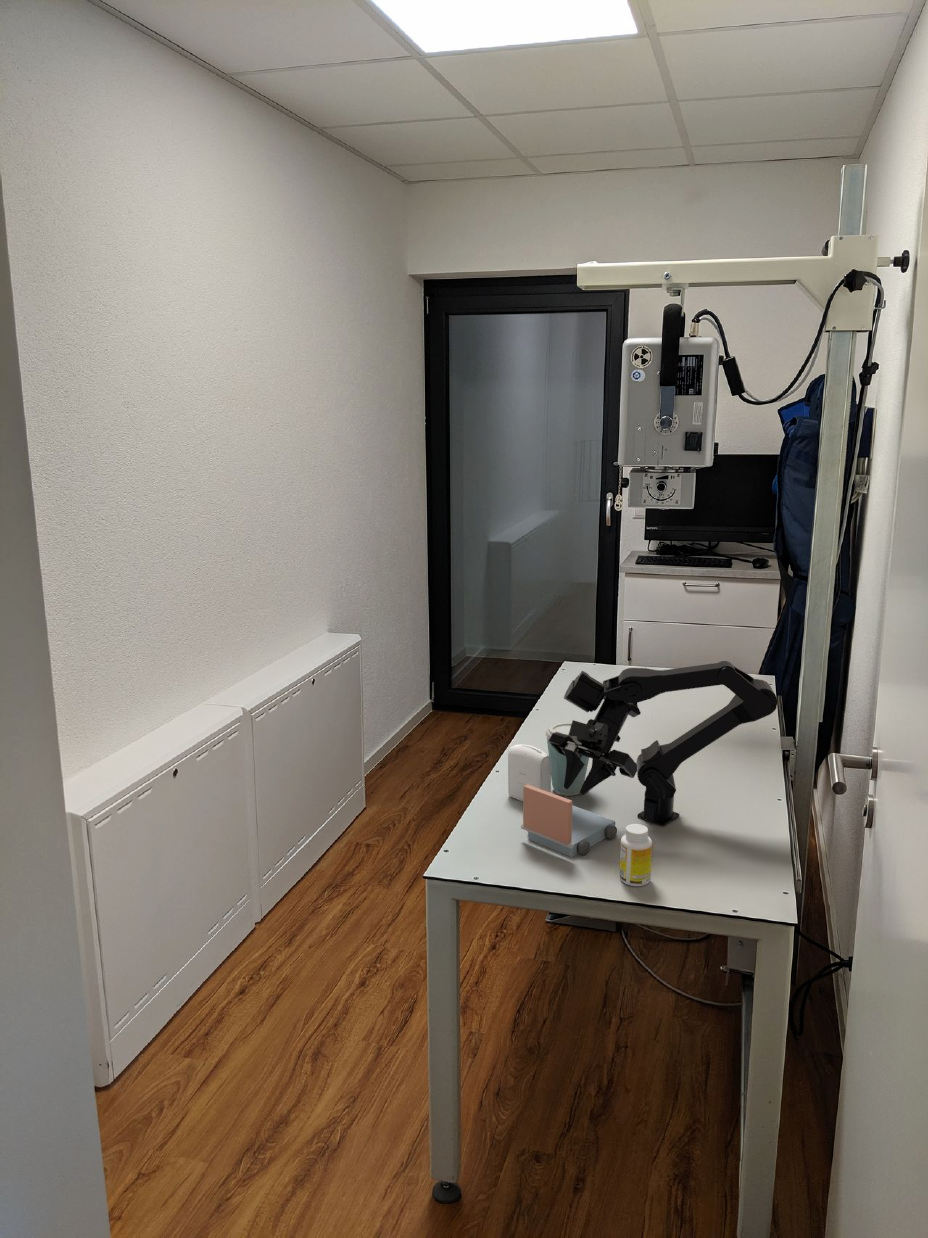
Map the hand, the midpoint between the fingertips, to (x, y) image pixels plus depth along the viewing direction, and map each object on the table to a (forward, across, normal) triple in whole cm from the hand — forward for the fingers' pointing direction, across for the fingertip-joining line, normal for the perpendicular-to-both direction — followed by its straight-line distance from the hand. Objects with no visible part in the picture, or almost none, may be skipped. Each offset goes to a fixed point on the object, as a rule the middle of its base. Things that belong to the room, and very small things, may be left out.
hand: (573, 791), depth 188 cm
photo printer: (+2, -17, +12) cm, 21 cm away
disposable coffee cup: (-5, -14, +19) cm, 24 cm away
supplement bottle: (+11, +19, +3) cm, 22 cm away
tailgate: (+10, 0, -1) cm, 11 cm away
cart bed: (+7, 0, +7) cm, 10 cm away
